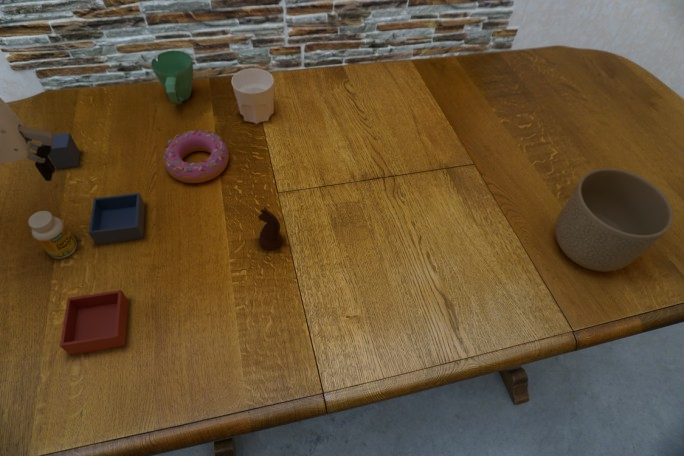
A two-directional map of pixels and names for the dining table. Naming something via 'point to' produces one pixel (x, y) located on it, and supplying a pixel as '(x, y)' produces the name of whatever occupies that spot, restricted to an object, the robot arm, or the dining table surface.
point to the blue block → (64, 151)
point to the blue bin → (117, 218)
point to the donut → (192, 143)
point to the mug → (174, 74)
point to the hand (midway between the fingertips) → (19, 178)
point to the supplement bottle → (52, 234)
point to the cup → (254, 94)
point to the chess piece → (270, 231)
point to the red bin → (95, 322)
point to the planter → (612, 219)
